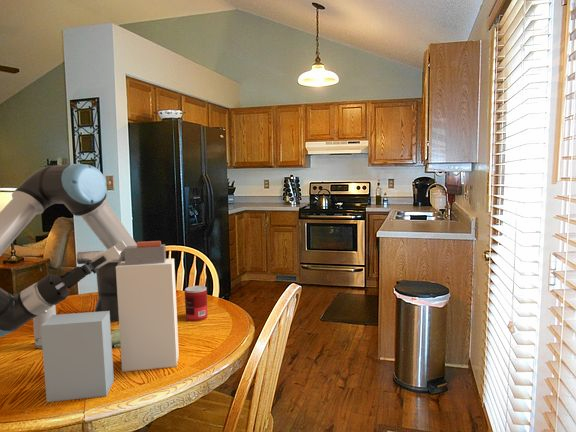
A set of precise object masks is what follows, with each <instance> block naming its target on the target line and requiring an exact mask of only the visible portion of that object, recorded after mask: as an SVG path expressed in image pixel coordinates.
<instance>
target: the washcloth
mask: <svg viewBox="0 0 576 432" xmlns="http://www.w3.org/2000/svg"><path fill="white" fill-rule="evenodd" d="M111 342H112V347H113V346H114V349H121V346H120V329H119V328H117V329H115V330H113V331H111Z"/></svg>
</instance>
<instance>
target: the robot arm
mask: <svg viewBox="0 0 576 432" xmlns="http://www.w3.org/2000/svg"><path fill="white" fill-rule="evenodd" d="M106 184H107V181H106V177H105V176H104V174H103V173H102V172H101V170H100V169H98V168H97V167H95V166H93V165H90V164H83V163H73V164H64V165H63V164H61V165H60V164H59V165H57V164H56V165H55V164H53V165H52V164H51V165H46V166H44V167H42V168H39V169H37V170H36V171H34V172H33V173H32V174H31V175H29V176H28V177H27V178H25V180H23V181H22V182H21V184H20V185H18V187H17V188H16V189H15V190H14V191H13V192H12V194H11V198H12V199H11V200H10V201H9V202H8V203H7V204H6V205H5V206H4V207H3V209H2V210H1V211H0V257H1V256H2V255H3V254H4V252H5V251H6V250H7V249H8V248H9V246H10V245H11V244H12V243H13V242H14V241H15V240H16V238H18V236H19V235H20V234H21V233H22V231H23V230H24V229H25V228H26V227H27V226H28V224H30V223H31V221H33V219H34V218H35V217H36V215H41V214H43V213H44V211H46V209H47V208H49V207H51V206H53V205H56V204H57V205H58V204H59V205H61V204H63V205H64V206H65V208H67V209H68V211H70V213H71V214H72V215H73V216H75V217H81V218H82V219H83V221H84V222H85V224H87V226H88V227H89V228H90V230H91V231H92V232H93V233H94V234H95V236H96V237H97V238H98V240H99V241H100V242H101V243H102V245H103V246H104V247H105V249H106V250H107V251H106V250H104V251H105V252H104V253H102V254H100V255H99V256H97V257H96V258H94V259H92V260H91V261H92V262H91V261H90V262H88V263H87V264H82V265H81V266H76V267H74V268H72V269H71V270H70V271H69V270H68V271H66V272H64V273H63V274H62V275H60V276H59V277H58V275H56V274H51V273H50V274H48V275H46V276H45V277H43V278H41V279H40V280H38V281H37V282H35V283H33V284H30V286H27V287H26V288H25V289H23V290H21V291H20V292H18V293H17V294H15V295H12V294H11V293H9V292H8V291H6V290H4V289H3V288H2V287H0V338H2V337H5V336H6V335H8V334H10V333H12V332H15V331H16V330H18V329H19V328H21V327H22V326H24V325H25V324H27V323H29V321H32V320H33V318H34V317H36V316H38V315H39V314H41V313H42V312H43V313H44V314H46V313H47V310H48V309H49V308H51V307H52V306H53V305H55V306H57V305H58V304H59V303H60V302H63V301H64V300H65V299H67V298H68V295H69V294H68V293H69V292H68V290H69V289H71V288H72V287H74V286H75V285H76V284H78V283H79V282H81V280H83V279H85V277H86V276H88V275H91V274H92V273H93V274H94V275H95V274H96V284H97V295H98V297H97V300H96V304H95V308H94V311H93V312H101V311H110V322H115V321H119V313H118V297H117V280H116V266H117V265H118V264H120V263H121V262H110V261H111V260H113V259H115V258H116V257H118V256H119V255H120V253H119V252H118V250H124V248H126V247H127V246H137V242H136V241H135V239H134V238H133V237H132V235H131V234H130V233H129V231H128V230H127V228H126V227H125V226H124V224H123V223H122V221H120V219H119V217H118V216H117V215H116V213H115V212H114V210H113V209H112V208H111V206H110V205H109V203H108V202H107V198H108V194H107V190H108V189H107V188H108V187H107V186H106Z"/></svg>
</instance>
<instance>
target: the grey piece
mask: <svg viewBox="0 0 576 432" xmlns="http://www.w3.org/2000/svg"><path fill="white" fill-rule="evenodd" d="M136 244H137V246H127V247H126V248H124V250H118V252H119V253H120V255H119V256H118V257H116V258H115V259H113V260H111V261H110V262H125V265H137V264H155V263H165V261H166V259H167V252H166V243H163V244H162V241H161V240H151V241H150V240H149V241H137V242H136ZM105 251H107V249H106V250H89V251H78V252H77V253H76V263H77V265H84V264H87V263H88V262H90V261H91V260H92V259H94V258H96V257H97V256H99V255H100V254H102V253H104V252H105ZM91 262H92V261H91Z"/></svg>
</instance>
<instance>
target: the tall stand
mask: <svg viewBox="0 0 576 432" xmlns="http://www.w3.org/2000/svg"><path fill="white" fill-rule="evenodd" d="M175 267H176V266H175V258H173V257H172V258H166V261H165V263H155V264H137V265H125V262H121V263H120V264H118V265H117V266H116V280H117V297H118V313H119V320H118V325H119V327H118V329H120V346H121V347H120V359H121V360H120V361H121V372H133V371H142V370H155V369H166V368H173V367H175V368H177V366H178V362H179V357H180V356H179V355H180V353H179V351H180V350H179V332H178V331H179V330H178V329H179V328H178V312H177V308H178V307H177V292H176V291H177V290H176V270H175Z"/></svg>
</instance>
